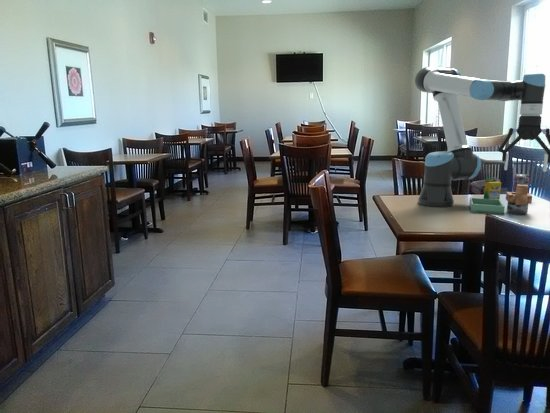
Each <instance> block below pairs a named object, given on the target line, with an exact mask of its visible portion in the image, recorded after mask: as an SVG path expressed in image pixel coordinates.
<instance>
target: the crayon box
mask: <svg viewBox="0 0 550 413" xmlns="http://www.w3.org/2000/svg"><path fill="white" fill-rule="evenodd" d="M484 183H485V184H484V191H483V199H499V200H500V198H501V197H500V196H501V190H502V188H501V187H502V182H501V181H497V177H496V176H495V177H485V182H484Z"/></svg>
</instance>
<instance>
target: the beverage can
mask: <svg viewBox="0 0 550 413" xmlns="http://www.w3.org/2000/svg"><path fill="white" fill-rule="evenodd" d="M514 175H515V176H514V177H513V183H512V184H513V185H512V190H511V192H516V187H517V180H518V177H516V175H526V177H525V178H524V181H523V184H524V185H528V193H529V194H530V186H531V185H530V184H531V177H530V174H527V173H515V174H514Z"/></svg>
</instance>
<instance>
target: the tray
mask: <svg viewBox="0 0 550 413" xmlns="http://www.w3.org/2000/svg"><path fill="white" fill-rule="evenodd" d="M483 198H484V197H483ZM483 198H482V197H481V198H479V197H469V203H468V204H469V209H470V212H471V213H480V214H481V213H484V214H494V215H495V214H497V215H498V214H499V215H505V208H506V207H505V204H504V203H503V201H502V200H501V199H500V198H499V199H483Z"/></svg>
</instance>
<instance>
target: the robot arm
mask: <svg viewBox="0 0 550 413" xmlns="http://www.w3.org/2000/svg"><path fill="white" fill-rule="evenodd" d="M414 85H415V87H416V88H417V89H418V91H421V92H423V93H427V94H432V97H433V98H432V99H433V100H434V101H436V102H437V103H438V104H437V105H438V109H439V114H440V118H441V123H442V124H441V125H442V127H443V132H444V137H445V142H446V146H447V147H446V148H447V150H443V151H434V152H433V151H432V152H429V153H428V154H427V155H425V161H424V173H423V174H424V175H423V185H422V189H421V191H420V194H419V196H418V201H417V203H418V205H422V206H426V207H433V208H434V207H436V208H446V207H453V206H454V201H455V200H454V197H453V196H454V195H453V192H452V181H461V180H463V181H466V180H472V179H474V178H475V177H477V176H478V174H479V172H480V171H481V168H482V161H481V158H480V156H479V155H477V154H476V153H474V152H473V147H471V146H470V145H468V140H467V136H466V132H465V126H464V123H463V118H462V114H461V109H460V105H459V100H458V99H459V98H458V96H463V97H469V98H473V99H474V100H477V101H499V102H509V101H511V102H513V101H520V105H519V106H520V108H519V115H520V116H519V117H518V126H517V128H512V127H509V129H508V131H507V135H506V137H504V140H503V141H502V142H501V144H500V145H499V147H498V148H497V151H498V152H500V153H502V154H501V155H502V157H501V158H502V159H501V161H502V162H504V167H503V168H504V169H503V170H504V171H507V170H508V164H509V153H508V152H509V151H510V150H512V148H513V147H515V145H516V144H518V142H520V141H521V140H523V141H528V140H529V141H534V140H535V141H536V142H537V143H538V145H540V147H541V148H542V149H543V151H545V154H544V158H543V166H542V172H544V173H546V172H547V170H548V164H550V148H548V146H547V145H546V143H544V141H543V140H542V139H541V137H540V136H539V135H540V134H541V133H542V135H545V138H546V140H547V142H548V145H549V146H550V128H547V127H546V128H542V127H541V126H542V114H543V105H544V95H545V88H546V74H545V73H539V72H537V73H534V72H533V73H527V74H526V73H525V74H524V75H523V78H522V80H513V81H512V80H494V79H486V78H485V79H484V78H477V77H470V76H463V75H462V74H461V72H460V71H459V70H458V69H456V68H451V67H438V66H436V67H435V66H425V67H423V68H421V69H420V70H418V72H417V73H416V74H415V77H414ZM515 133H517V134H518V135H517V137H516V138H514V139H513V140H512V141H511V143H510V144H508V142H509V141H510V139H511V137H512V135H514V134H515ZM507 144H508V145H507ZM506 145H507V146H506ZM505 146H506V147H505Z"/></svg>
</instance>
